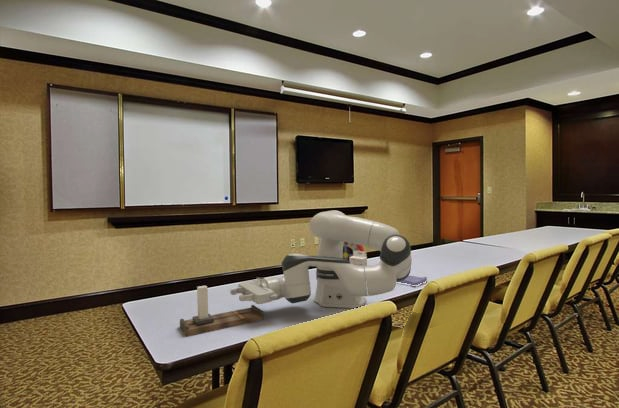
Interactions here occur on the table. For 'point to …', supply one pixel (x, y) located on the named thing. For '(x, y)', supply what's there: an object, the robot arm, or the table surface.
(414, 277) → the computer part
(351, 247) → the toy clock
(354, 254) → the ink cartridge box
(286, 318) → the table surface
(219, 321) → the fader track
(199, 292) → the fader tab
